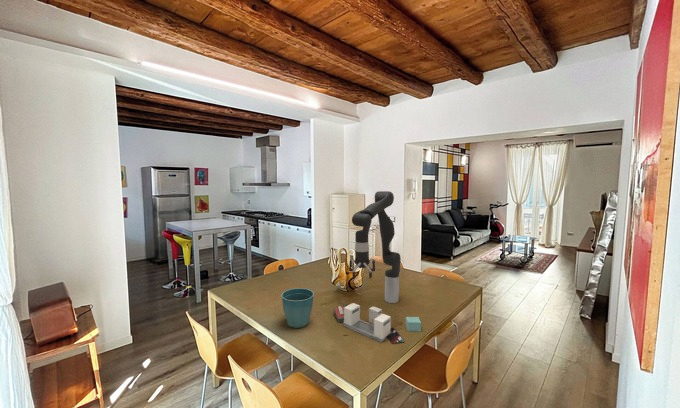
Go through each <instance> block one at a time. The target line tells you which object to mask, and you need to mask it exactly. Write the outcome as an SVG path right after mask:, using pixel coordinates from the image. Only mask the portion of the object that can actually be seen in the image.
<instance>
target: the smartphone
mask: <svg viewBox="0 0 680 408" xmlns="http://www.w3.org/2000/svg"><path fill="white" fill-rule="evenodd" d="M390 332H391V335H389V336H388V337H387V338H386V339H388V341H389V342H390V344H392V345H397V344H398V345H399V344H405V339H404V338H402V336H401V335H400V334H399V333H398V331H397V330H396V329H395V328H394V327H391V329H390Z"/></svg>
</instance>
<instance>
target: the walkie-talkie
mask: <svg viewBox="0 0 680 408" xmlns="http://www.w3.org/2000/svg"><path fill="white" fill-rule="evenodd" d="M341 303H342V306H341V305H339V306H336V307H334V308H333V314H334V316H335V318H336V322H337V323H338V324H340V323H341V324H343V323H344V307H346V303H345V301H344V300H342V301H341Z"/></svg>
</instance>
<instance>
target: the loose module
mask: <svg viewBox="0 0 680 408" xmlns="http://www.w3.org/2000/svg"><path fill="white" fill-rule="evenodd" d="M382 312H383V309H382V308H379V307H376V306H371V307H369V308H368V323H370V324H373V325H374V319H375V318H377V317H378V316H380V315H381V314H383V313H382Z"/></svg>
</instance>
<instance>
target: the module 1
mask: <svg viewBox="0 0 680 408" xmlns="http://www.w3.org/2000/svg"><path fill="white" fill-rule="evenodd" d="M345 306H346V305H345ZM343 307H344V306H343ZM359 320H361V305H360V304H357V303H354V302H352V303H350V304H348V305H347V306H346V307H344V322H343V323H346V324H349V325H354V324H355V323H357V322H358V321H359Z"/></svg>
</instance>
